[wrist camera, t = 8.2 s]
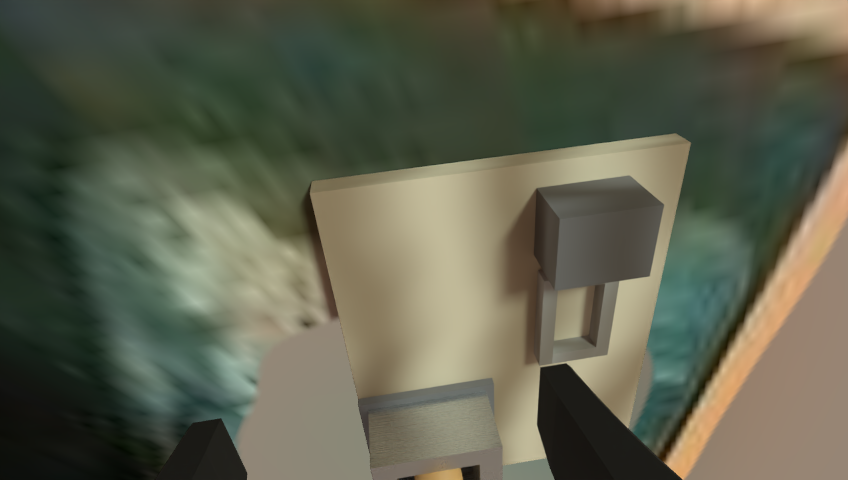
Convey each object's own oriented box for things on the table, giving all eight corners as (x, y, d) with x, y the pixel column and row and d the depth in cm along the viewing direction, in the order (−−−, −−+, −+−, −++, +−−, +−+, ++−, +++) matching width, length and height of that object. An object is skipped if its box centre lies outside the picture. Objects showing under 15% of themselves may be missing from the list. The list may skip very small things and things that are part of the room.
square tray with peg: (376, 478, 26) (381, 574, 22) (358, 399, 23) (359, 495, 19) (493, 458, 27) (518, 549, 23) (491, 377, 23) (520, 468, 19)
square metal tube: (383, 479, 26) (387, 538, 23) (368, 409, 23) (370, 468, 20) (487, 461, 26) (502, 517, 24) (486, 390, 23) (502, 446, 21)
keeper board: (377, 469, 28) (381, 531, 25) (311, 181, 18) (304, 227, 15) (616, 429, 28) (646, 484, 26) (675, 133, 19) (734, 168, 16)
